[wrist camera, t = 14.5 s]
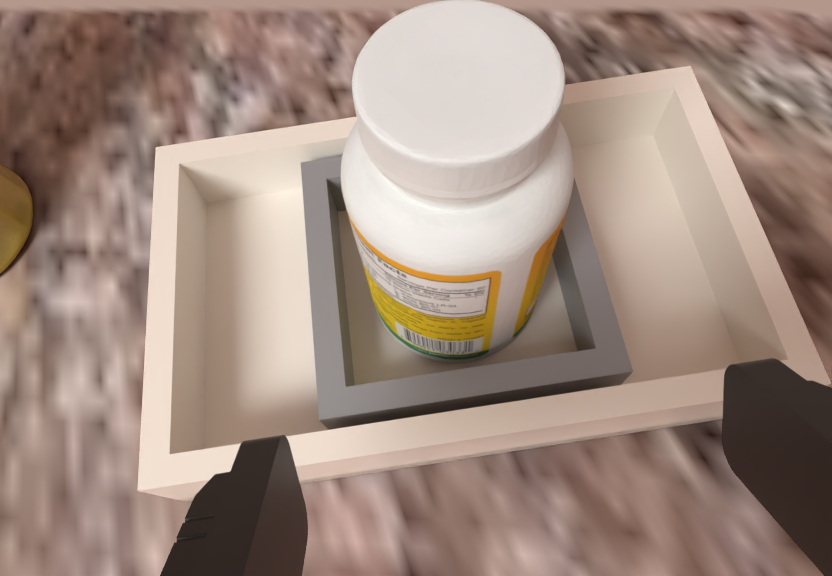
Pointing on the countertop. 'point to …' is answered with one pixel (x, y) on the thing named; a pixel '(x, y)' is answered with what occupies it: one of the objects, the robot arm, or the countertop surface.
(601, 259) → the walled box
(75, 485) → the countertop surface
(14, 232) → the vase
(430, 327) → the supplement bottle
